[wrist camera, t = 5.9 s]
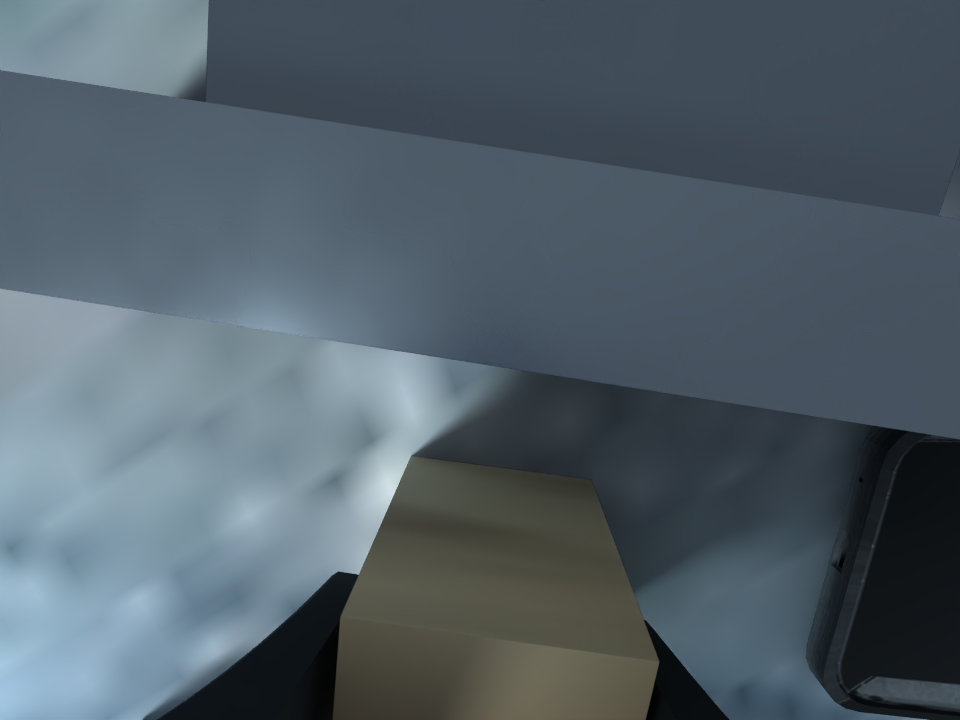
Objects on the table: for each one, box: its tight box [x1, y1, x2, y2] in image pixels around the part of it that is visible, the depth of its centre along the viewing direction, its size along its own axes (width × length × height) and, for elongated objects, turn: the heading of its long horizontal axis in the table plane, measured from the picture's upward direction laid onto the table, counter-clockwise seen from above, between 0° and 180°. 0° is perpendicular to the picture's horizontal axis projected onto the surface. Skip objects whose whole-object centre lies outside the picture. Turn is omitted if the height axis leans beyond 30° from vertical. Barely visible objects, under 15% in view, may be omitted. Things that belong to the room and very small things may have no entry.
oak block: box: [333, 456, 659, 720], centre depth 11 cm, size 4×4×6 cm
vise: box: [0, 0, 960, 439], centre depth 9 cm, size 7×18×4 cm, turn 81°
